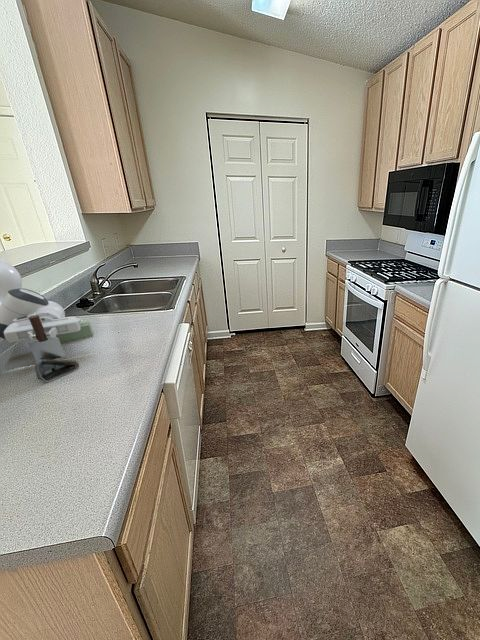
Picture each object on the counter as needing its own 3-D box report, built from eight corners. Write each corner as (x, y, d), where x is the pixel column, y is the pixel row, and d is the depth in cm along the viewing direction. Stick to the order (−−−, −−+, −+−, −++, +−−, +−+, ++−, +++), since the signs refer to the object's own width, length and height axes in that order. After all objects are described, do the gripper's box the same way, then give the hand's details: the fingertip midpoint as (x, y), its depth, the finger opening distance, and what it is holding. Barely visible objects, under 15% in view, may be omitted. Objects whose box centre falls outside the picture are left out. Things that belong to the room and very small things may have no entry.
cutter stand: (59, 344, 132) (53, 330, 129) (60, 340, 136) (55, 326, 133) (93, 338, 137) (89, 325, 134) (93, 334, 141) (89, 321, 138)
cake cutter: (36, 364, 106) (16, 320, 99) (37, 360, 108) (18, 317, 101) (65, 358, 109) (48, 315, 102) (65, 355, 111) (49, 313, 104)
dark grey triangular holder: (71, 364, 117) (32, 351, 108) (81, 362, 114) (42, 348, 104) (60, 389, 114) (20, 378, 105) (70, 389, 110) (29, 377, 101)
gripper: (84, 326, 120) (82, 339, 110) (15, 337, 112) (5, 353, 101) (78, 309, 118) (76, 321, 107) (7, 320, 109) (-4, 334, 98)
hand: (41, 337), depth 104 cm, fingers closed on cake cutter, 2 cm apart
